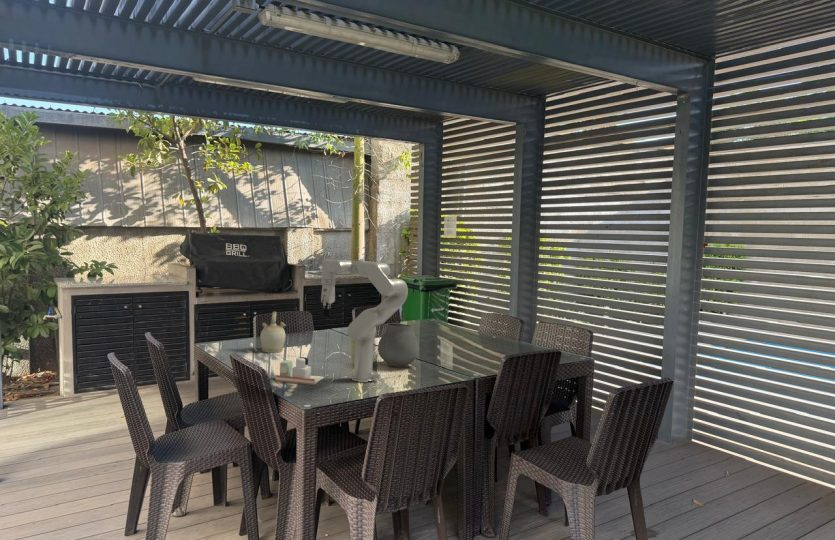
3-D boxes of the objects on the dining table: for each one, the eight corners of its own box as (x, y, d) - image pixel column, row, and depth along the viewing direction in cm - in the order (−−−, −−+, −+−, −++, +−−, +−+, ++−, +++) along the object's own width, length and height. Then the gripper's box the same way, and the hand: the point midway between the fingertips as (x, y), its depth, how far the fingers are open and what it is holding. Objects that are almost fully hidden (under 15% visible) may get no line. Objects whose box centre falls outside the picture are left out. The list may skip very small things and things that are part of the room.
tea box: (291, 378, 297) (292, 360, 296) (286, 380, 291) (287, 363, 290) (284, 377, 298) (285, 360, 297) (279, 380, 292) (280, 362, 291)
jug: (288, 349, 367) (289, 310, 365) (280, 354, 351) (281, 313, 350) (265, 347, 368) (266, 309, 366) (255, 352, 353) (257, 312, 351)
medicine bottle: (297, 378, 297) (298, 355, 296) (310, 380, 295) (311, 357, 294) (291, 381, 290) (292, 358, 289) (304, 383, 288) (305, 359, 287)
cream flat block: (324, 377, 303) (324, 371, 303) (313, 385, 286) (313, 379, 286) (288, 373, 306) (289, 368, 306) (275, 381, 289) (275, 375, 289)
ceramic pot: (425, 365, 342) (428, 324, 341) (404, 373, 322) (406, 329, 320) (391, 359, 355) (393, 319, 353) (368, 366, 334) (371, 323, 332)
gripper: (330, 283, 303) (329, 318, 304) (339, 281, 318) (337, 314, 319) (317, 282, 305) (315, 316, 306) (326, 280, 319) (324, 313, 320)
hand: (326, 315), depth 312 cm, fingers closed
